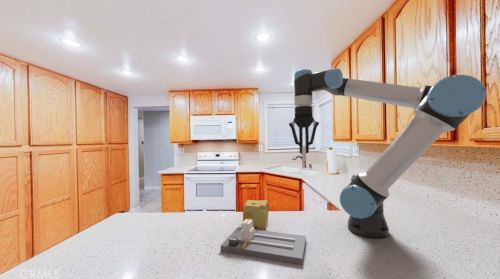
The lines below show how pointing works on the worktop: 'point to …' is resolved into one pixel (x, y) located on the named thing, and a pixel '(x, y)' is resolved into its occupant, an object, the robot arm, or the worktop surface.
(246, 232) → the fader
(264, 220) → the cheese
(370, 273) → the worktop surface
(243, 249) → the console
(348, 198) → the robot arm
